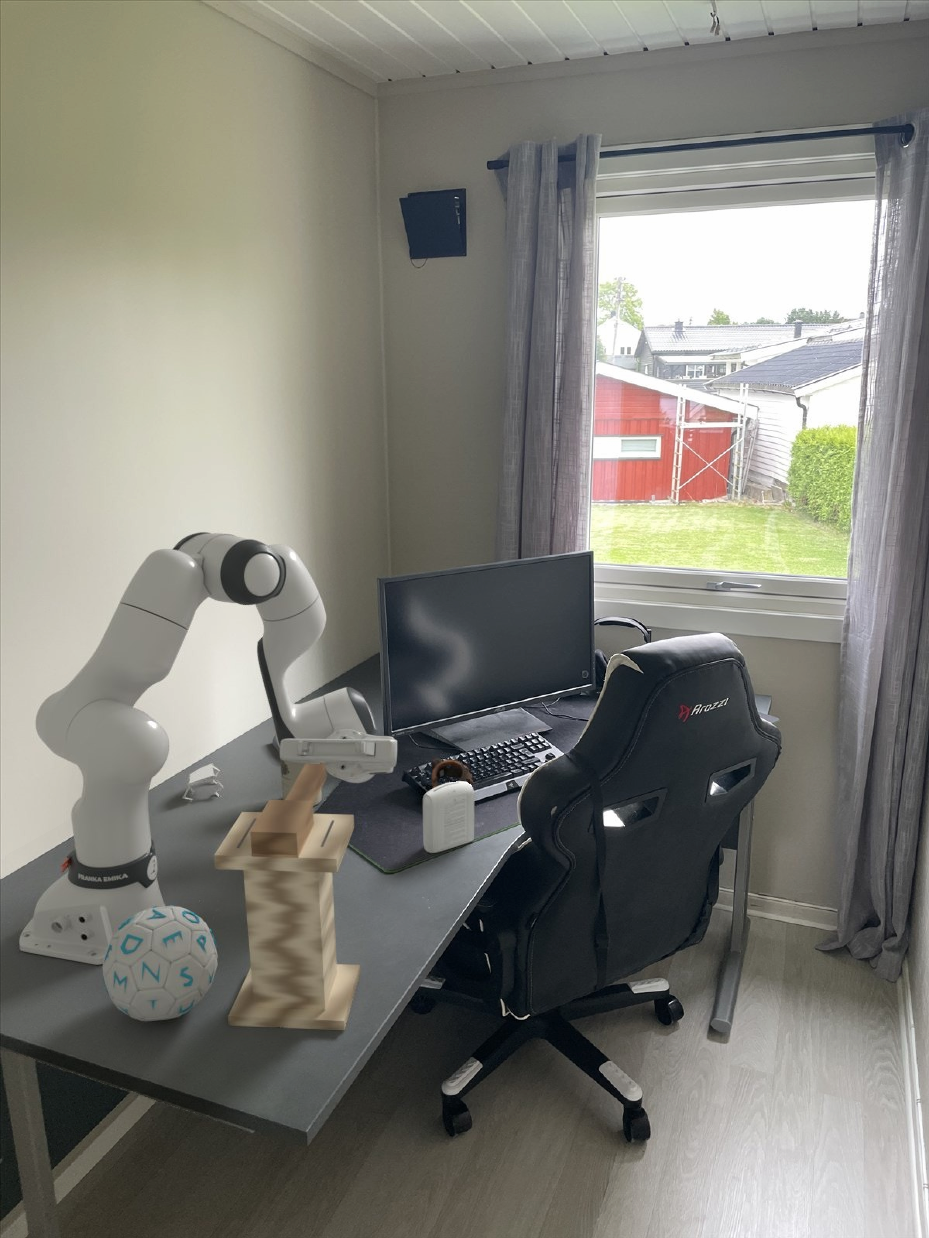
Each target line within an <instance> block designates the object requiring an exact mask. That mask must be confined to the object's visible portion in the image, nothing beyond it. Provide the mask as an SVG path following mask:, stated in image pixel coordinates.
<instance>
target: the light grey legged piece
mask: <svg viewBox="0 0 929 1238" xmlns="http://www.w3.org/2000/svg"><path fill="white" fill-rule="evenodd" d="M214 771H216V773H214ZM220 771H221V770H220V769H219V768H218V767H216V766H214V763H210V764H207V765H204V766H202V767H200V768H198V769H196V770H195V771H193V772H191V773H189V774H188V775H189V776H188V778H187V779H186V781H185V785H186V786H187V788H186V791H184V792H185V793H184V794H183V796H182V799H185V800H189V802H191V803H192V801H193V798H189V797H186V796H187V794H188V793H189V791H191V794H192V795H194V792H195V790H194V789H193V788H192V786H193V785H196V784H198V783H202V782H205V781H209V780H210V779H213V780H212V783H214V784H215V785H218V786H219V787H217V788H216V789H215V790H214V791H213V792H214V794H215V795H216V796H217V797H218V798H220V797H219V795H220V794H219V793H218V792H220V791H221V790H223V789H224V785H222V784H221V782H220V781H219V780H218V779H217V776H218V774H220Z"/></svg>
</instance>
